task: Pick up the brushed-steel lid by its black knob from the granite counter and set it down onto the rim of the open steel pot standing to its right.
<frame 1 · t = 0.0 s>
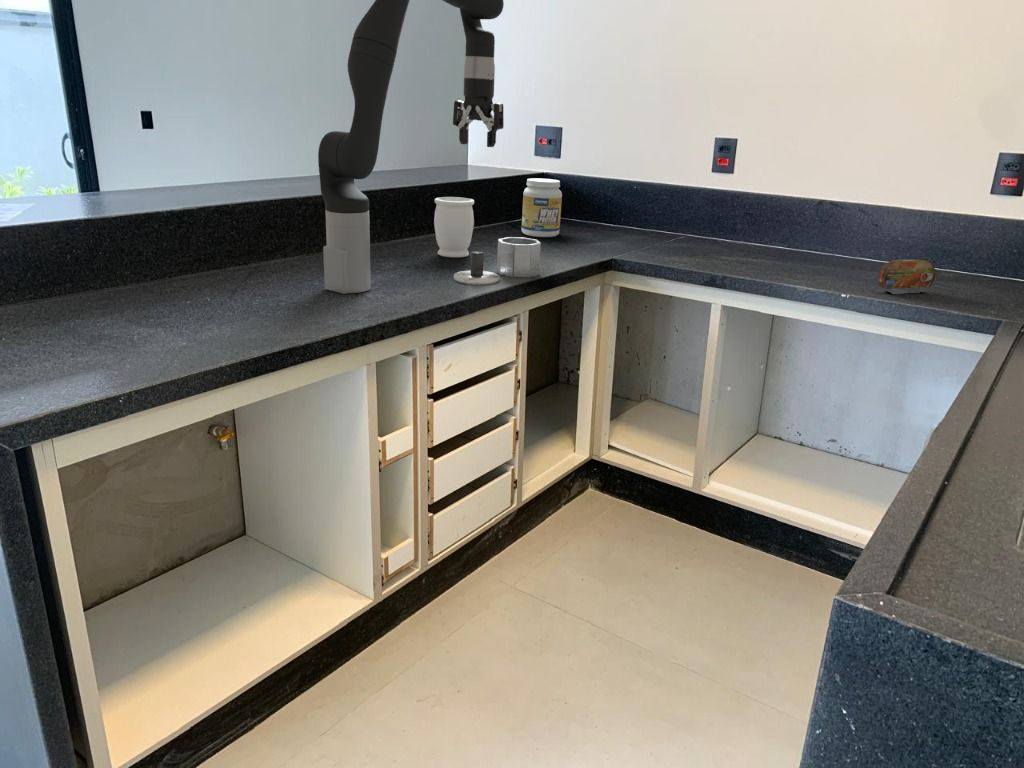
hand: (477, 145, 200), 29 cm above the counter, tool pointing down, fingers open, 8 cm apart
lid: (476, 280, 190), on the counter
supplement tub: (540, 235, 252), on the counter
tin: (902, 293, 198), on the counter
jar: (453, 255, 215), on the counter
pot: (517, 272, 198), on the counter
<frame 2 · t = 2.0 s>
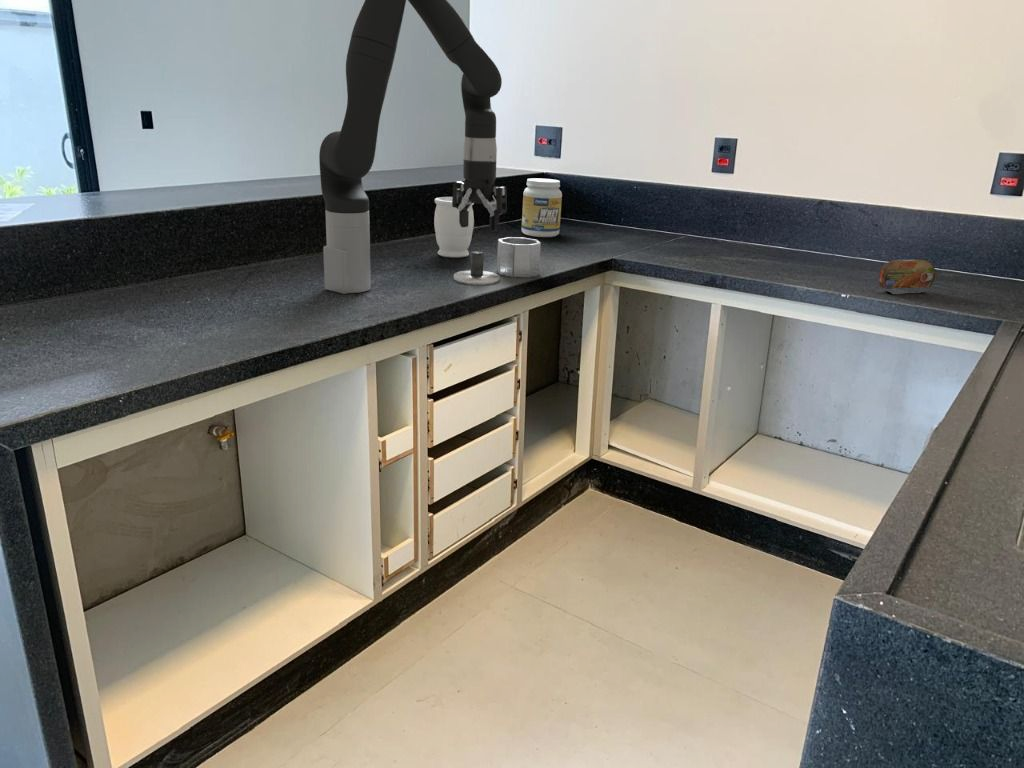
hand: (478, 229, 186), 12 cm above the counter, tool pointing down, fingers open, 8 cm apart
nothing on the counter moved.
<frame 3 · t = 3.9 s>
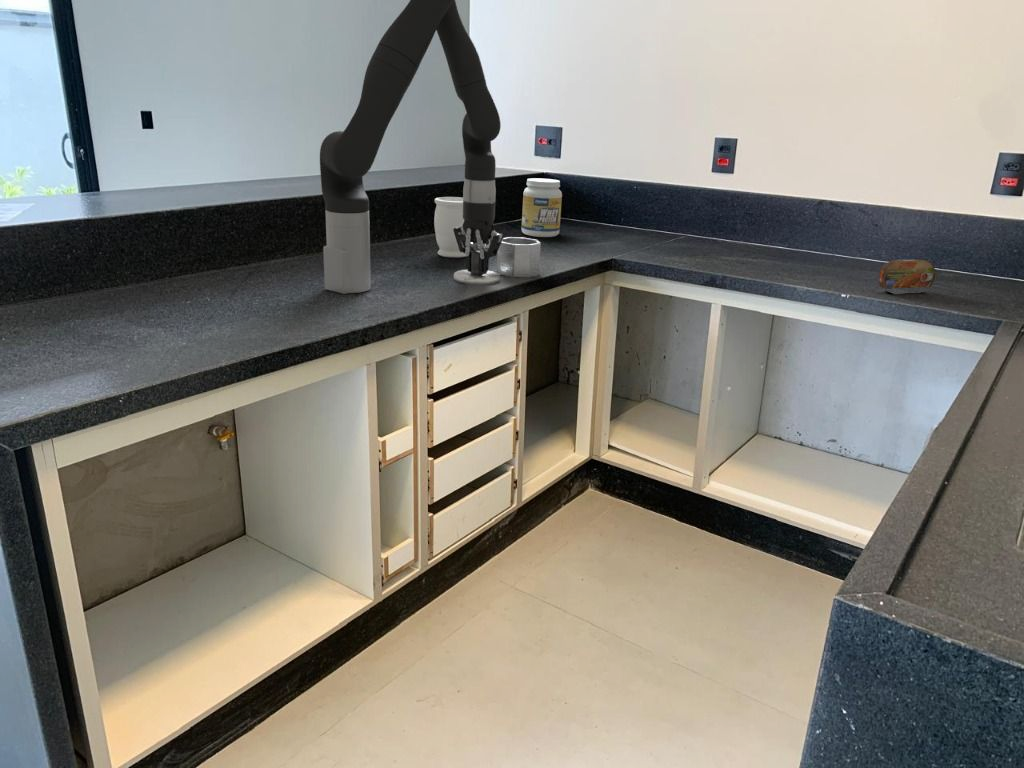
hand: (477, 272, 189), 2 cm above the counter, tool pointing down, fingers closed on lid, 3 cm apart
lid: (476, 279, 190), on the counter, touching gripper
everything else where it was.
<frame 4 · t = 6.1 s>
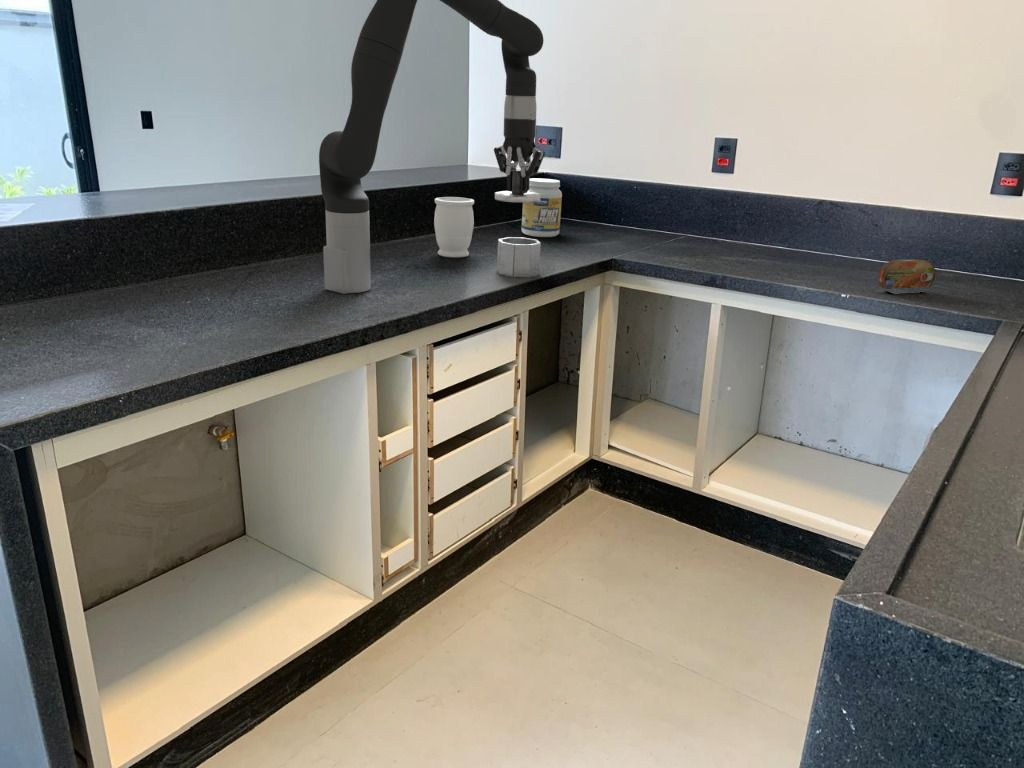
hand: (517, 191, 190), 20 cm above the counter, tool pointing down, fingers closed on lid, 3 cm apart
lid: (517, 199, 191), point 18 cm above the counter, touching gripper
everything else where it was.
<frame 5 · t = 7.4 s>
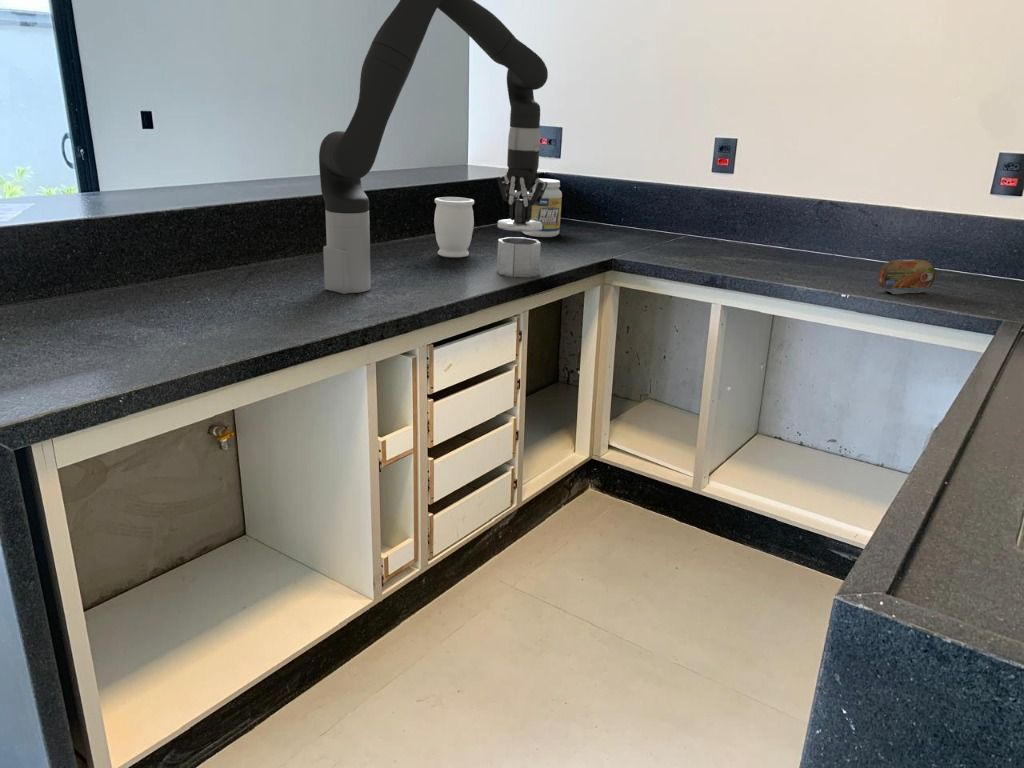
hand: (520, 220, 194), 13 cm above the counter, tool pointing down, fingers closed on lid, 3 cm apart
lid: (519, 227, 194), point 11 cm above the counter, touching gripper
everything else where it was.
when the fingers open (11 cm above the counter, at t = 8.5 s): lid drops 1 cm, resting on pot.
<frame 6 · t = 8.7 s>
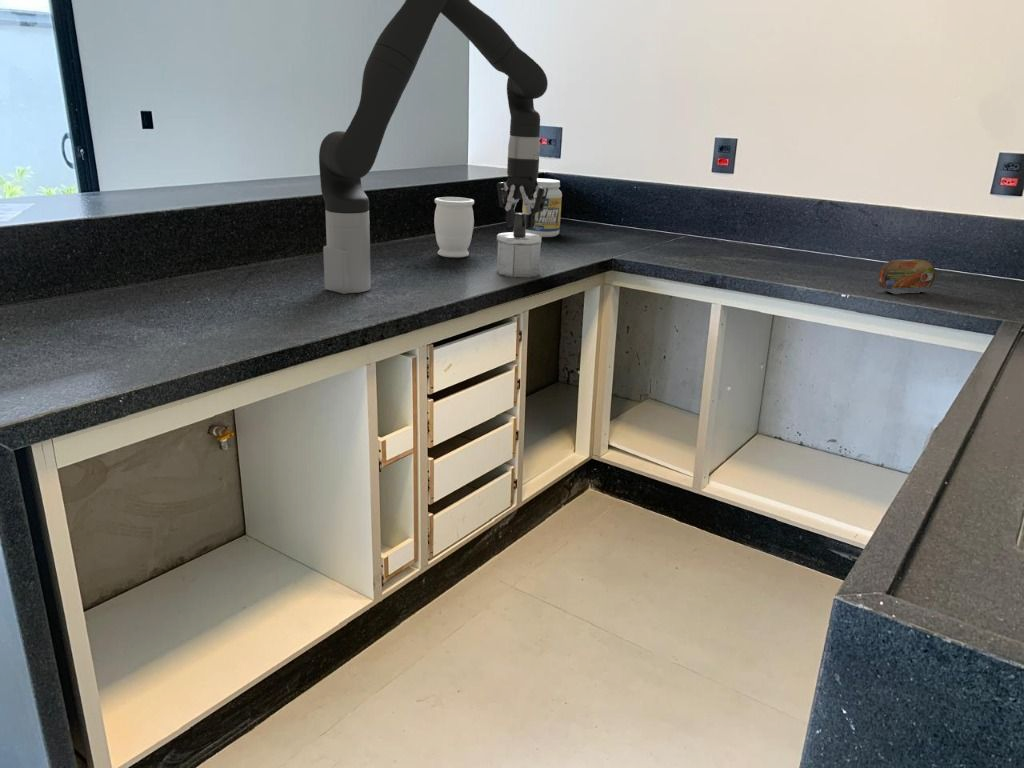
hand: (520, 227, 194), 11 cm above the counter, tool pointing down, fingers open, 5 cm apart
lid: (519, 241, 195), point 8 cm above the counter, touching pot
everything else where it was.
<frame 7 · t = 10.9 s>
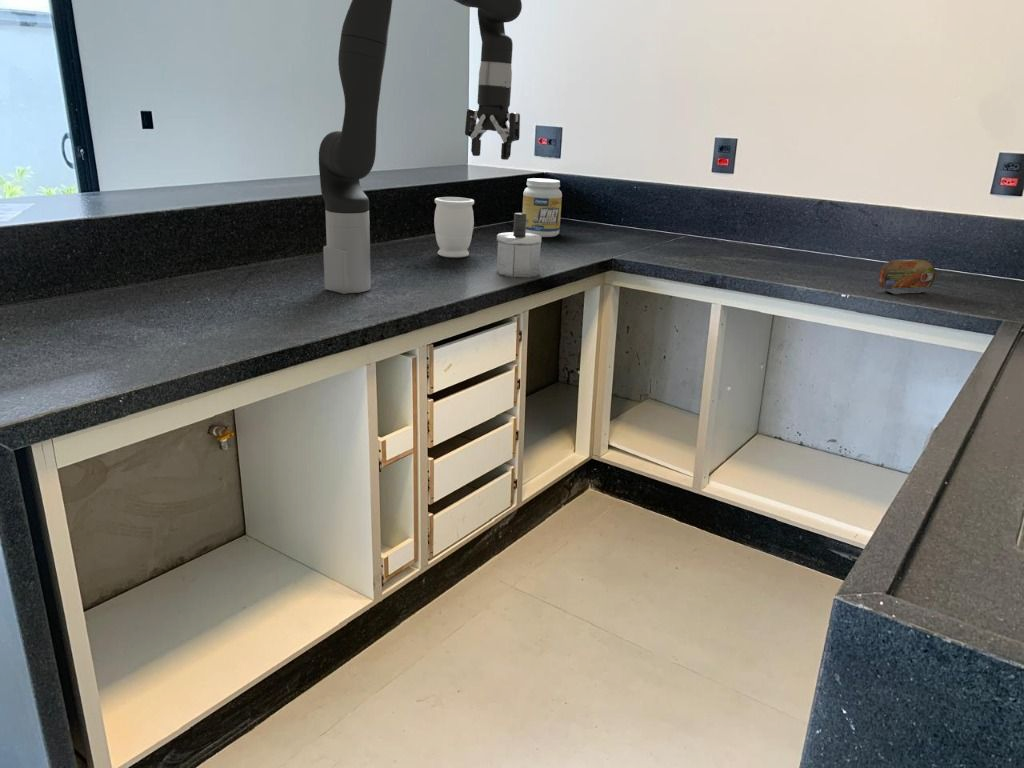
hand: (490, 157, 186), 28 cm above the counter, tool pointing down, fingers open, 8 cm apart
nothing on the counter moved.
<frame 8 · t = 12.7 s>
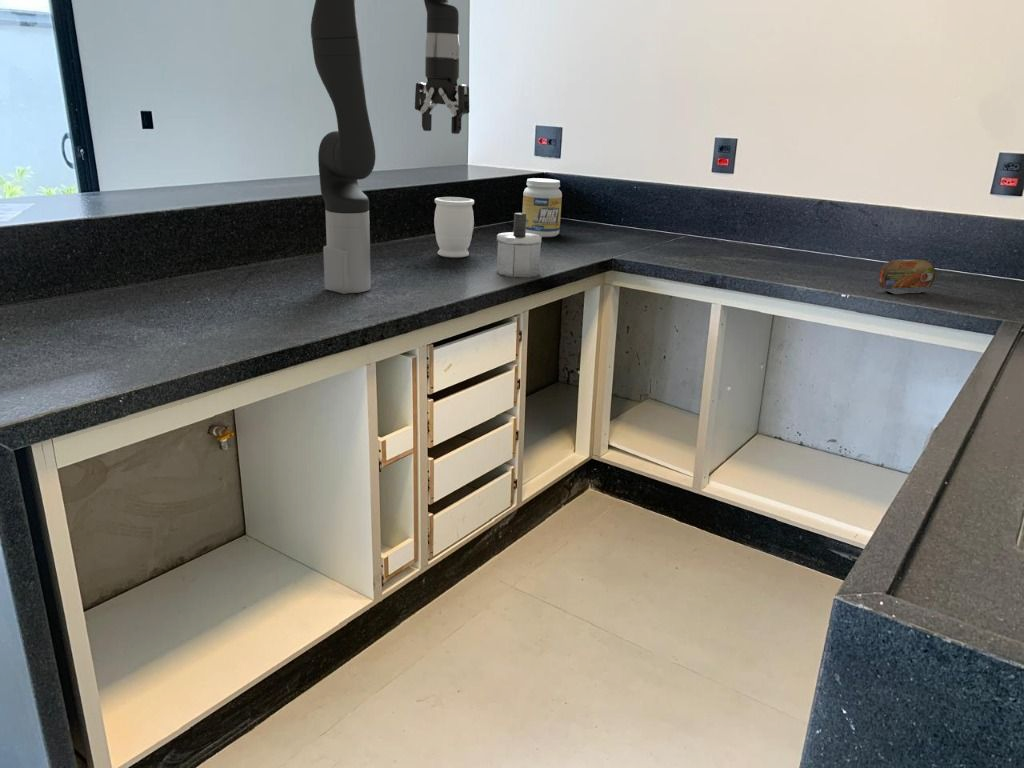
hand: (441, 132, 182), 33 cm above the counter, tool pointing down, fingers open, 8 cm apart
nothing on the counter moved.
at the end: lid 0.1 cm off-centre on the pot, point 8.0 cm above the pot's base; lid tilted 0°; the gripper is holding nothing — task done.
